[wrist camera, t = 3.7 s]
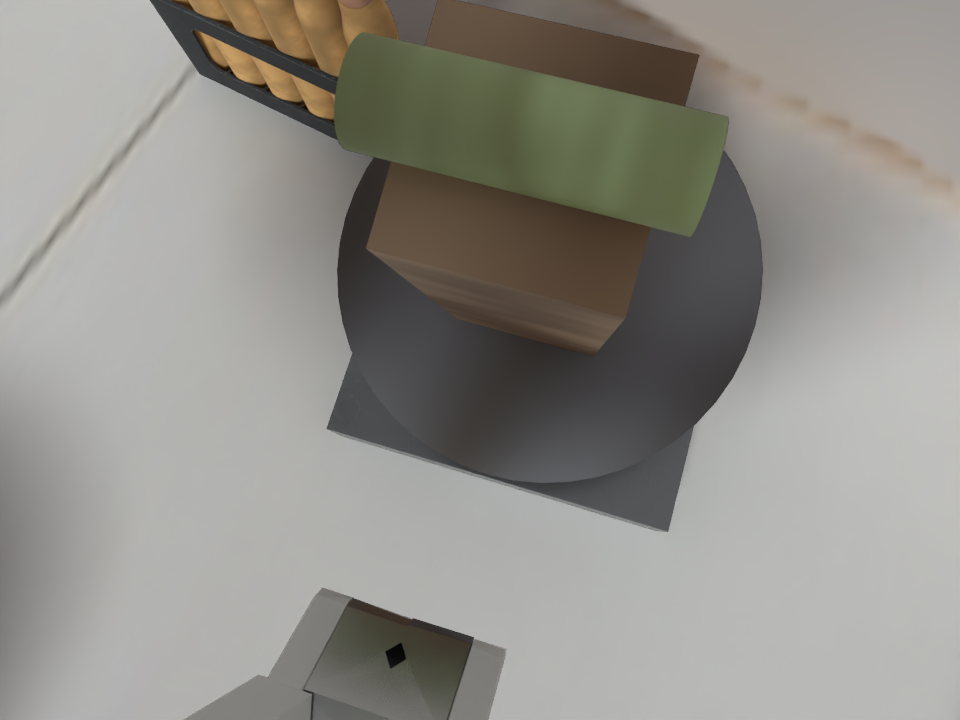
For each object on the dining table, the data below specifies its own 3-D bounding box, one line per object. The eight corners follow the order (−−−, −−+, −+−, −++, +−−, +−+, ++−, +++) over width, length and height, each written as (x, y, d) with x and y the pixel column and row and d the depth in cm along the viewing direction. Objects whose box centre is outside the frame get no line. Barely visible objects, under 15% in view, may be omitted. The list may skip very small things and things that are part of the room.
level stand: (340, 435, 27) (298, 415, 22) (436, 151, 30) (419, 72, 25) (657, 530, 26) (690, 532, 21) (732, 225, 28) (779, 158, 23)
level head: (302, 414, 23) (-27, 435, 10) (410, 41, 23) (224, -404, 10) (688, 529, 21) (882, 726, 9) (798, 132, 21) (1148, -253, 9)
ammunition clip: (438, 140, 30) (383, -107, 18) (415, 177, 30) (345, -49, 18) (221, 38, 32) (43, -248, 20) (197, 73, 31) (3, -197, 20)
